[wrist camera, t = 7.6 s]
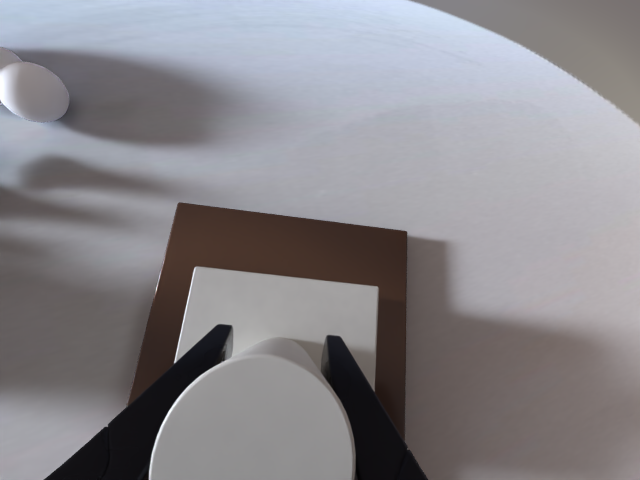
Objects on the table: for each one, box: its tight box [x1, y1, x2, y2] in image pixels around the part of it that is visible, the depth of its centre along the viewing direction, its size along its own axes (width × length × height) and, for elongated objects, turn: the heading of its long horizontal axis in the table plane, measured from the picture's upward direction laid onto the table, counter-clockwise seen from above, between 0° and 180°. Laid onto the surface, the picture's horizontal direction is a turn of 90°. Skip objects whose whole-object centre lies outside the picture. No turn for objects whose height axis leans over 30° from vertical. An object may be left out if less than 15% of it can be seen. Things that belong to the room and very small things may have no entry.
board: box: [126, 202, 407, 441], centre depth 14 cm, size 16×12×1 cm
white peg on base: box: [149, 266, 379, 480], centre depth 9 cm, size 7×7×10 cm
